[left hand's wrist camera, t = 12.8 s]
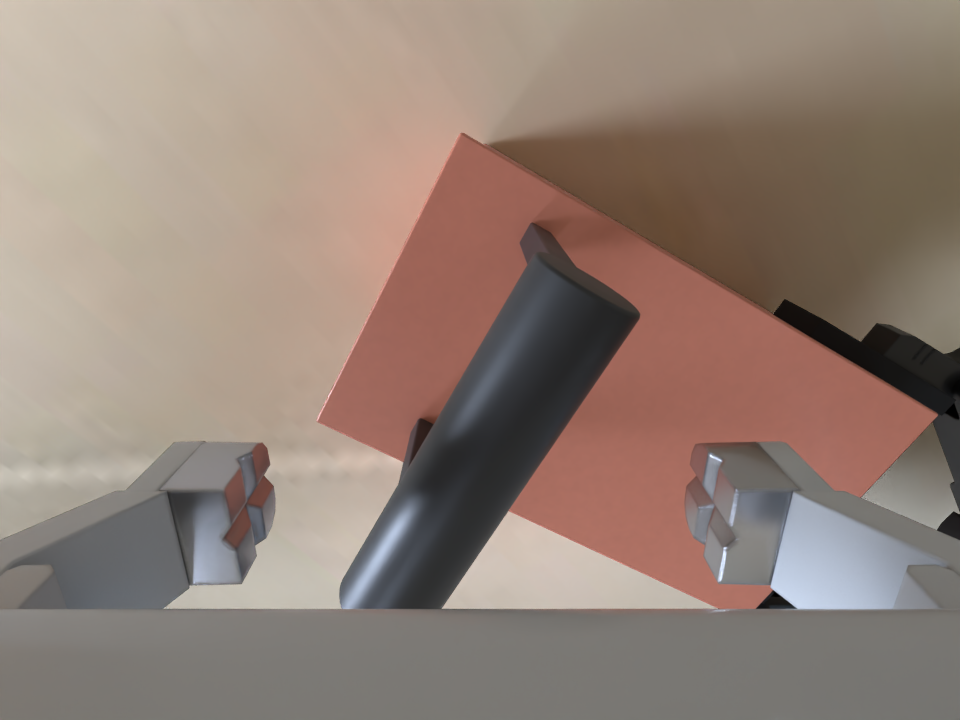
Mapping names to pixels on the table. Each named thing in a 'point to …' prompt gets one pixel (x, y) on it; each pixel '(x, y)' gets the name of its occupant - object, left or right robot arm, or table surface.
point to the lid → (575, 390)
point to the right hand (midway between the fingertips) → (710, 425)
